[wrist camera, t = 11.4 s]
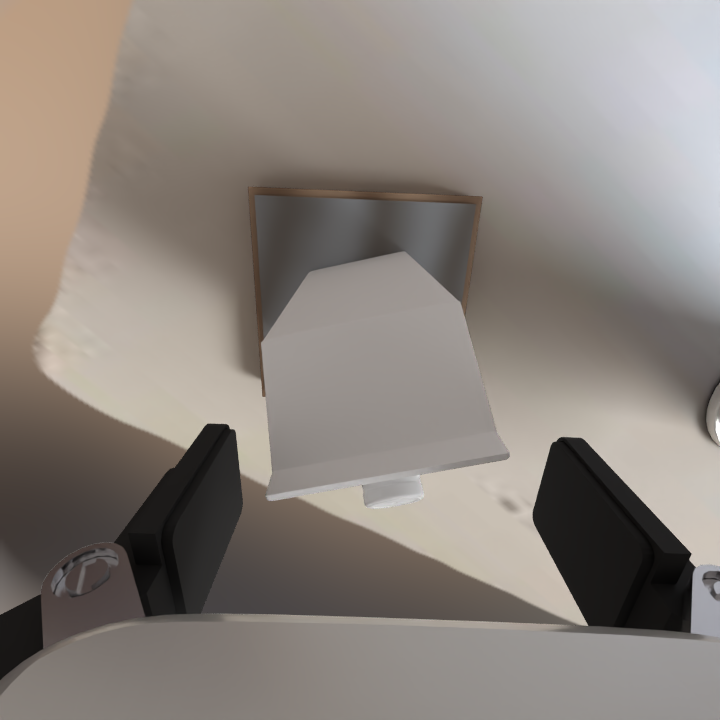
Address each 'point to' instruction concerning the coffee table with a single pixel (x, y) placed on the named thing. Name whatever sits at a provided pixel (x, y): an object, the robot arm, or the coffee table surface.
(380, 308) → the milk carton
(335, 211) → the framed mirror
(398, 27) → the coffee table surface
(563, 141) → the coffee table surface
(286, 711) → the robot arm
